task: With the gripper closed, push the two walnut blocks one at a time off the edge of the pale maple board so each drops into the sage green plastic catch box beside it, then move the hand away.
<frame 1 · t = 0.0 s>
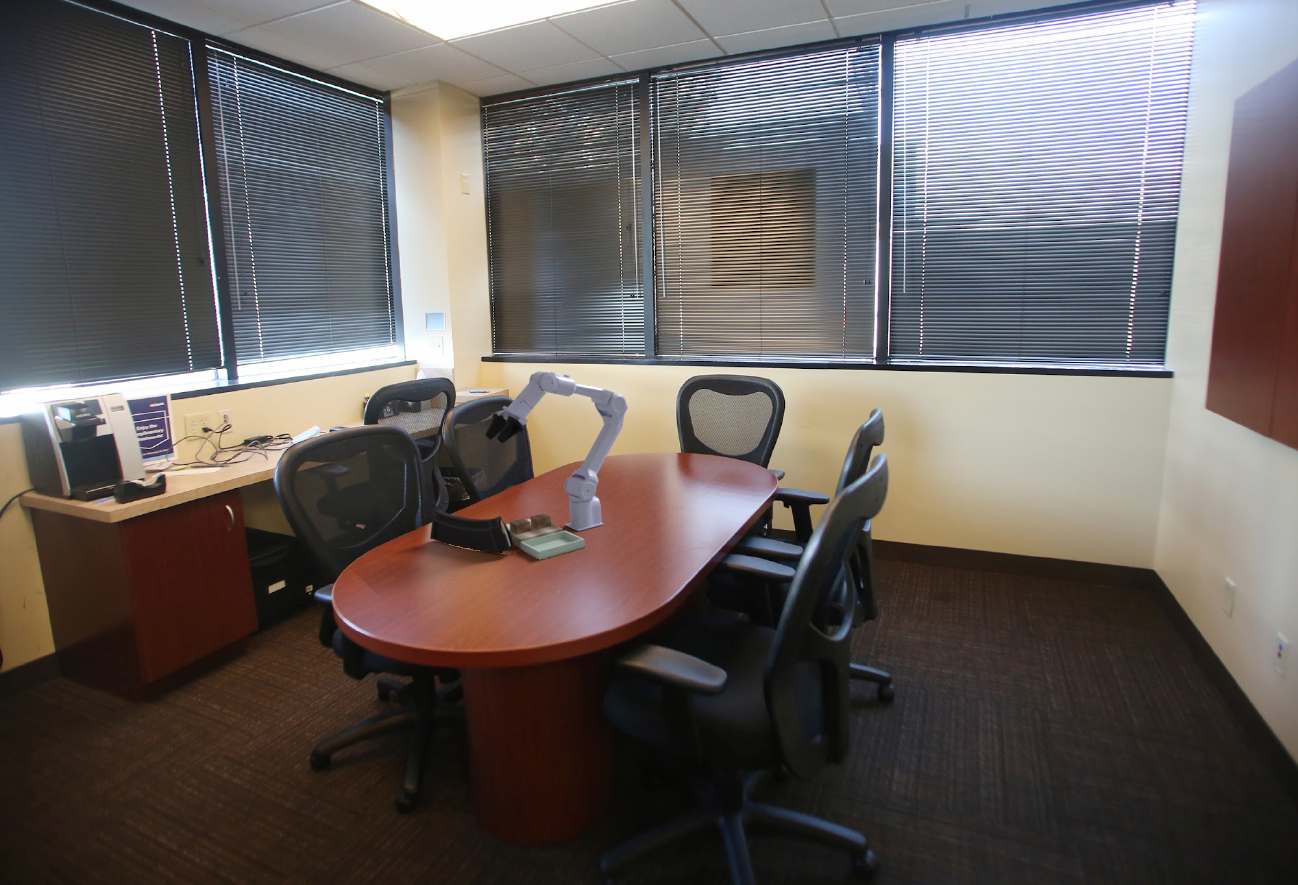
hand: (493, 439, 203), 32 cm above the table, tool tilted 50°, fingers open, 7 cm apart
catch box: (552, 548, 206), on the table
maple board: (530, 537, 217), on the table
magazine: (472, 549, 209), on the table
walnut block b: (520, 531, 213), point 3 cm above the table, touching maple board
walnut block a: (541, 525, 217), point 3 cm above the table, touching maple board
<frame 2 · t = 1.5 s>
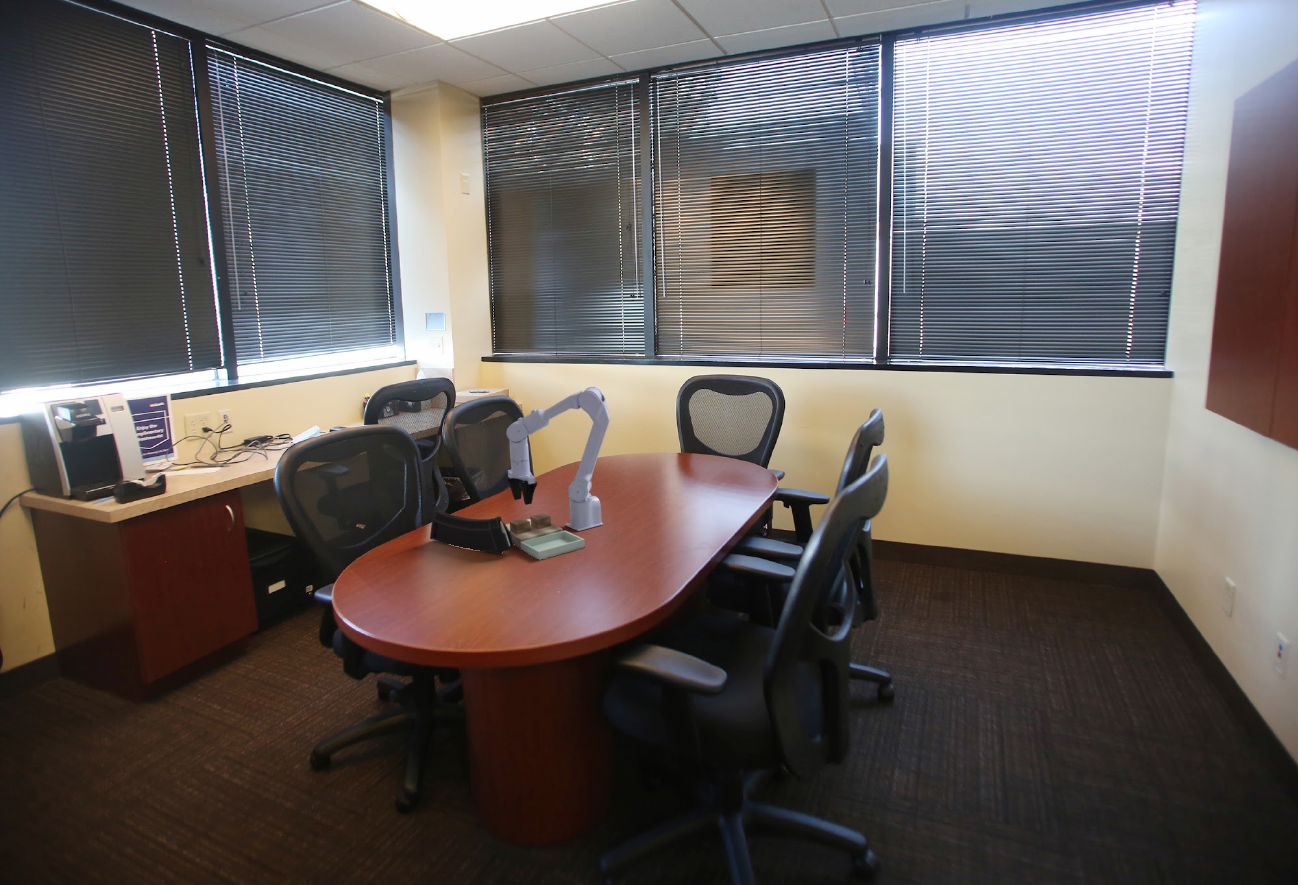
hand: (523, 501, 225), 8 cm above the table, tool pointing down, fingers open, 7 cm apart
nothing on the table moved.
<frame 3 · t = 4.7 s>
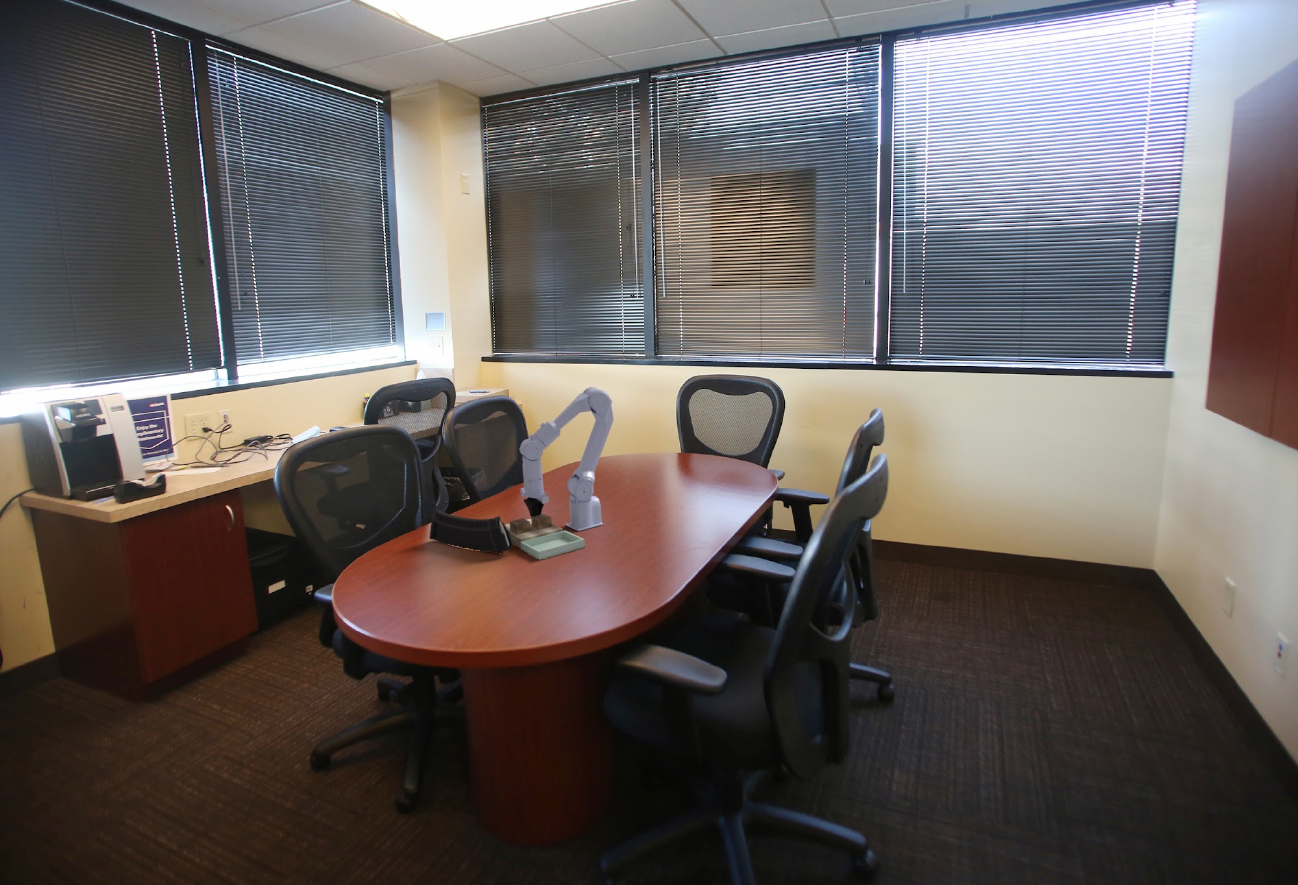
hand: (536, 520, 219), 4 cm above the table, tool pointing down, fingers closed
walnut block a: (541, 526, 217), point 3 cm above the table, touching gripper, maple board
everything else where it was.
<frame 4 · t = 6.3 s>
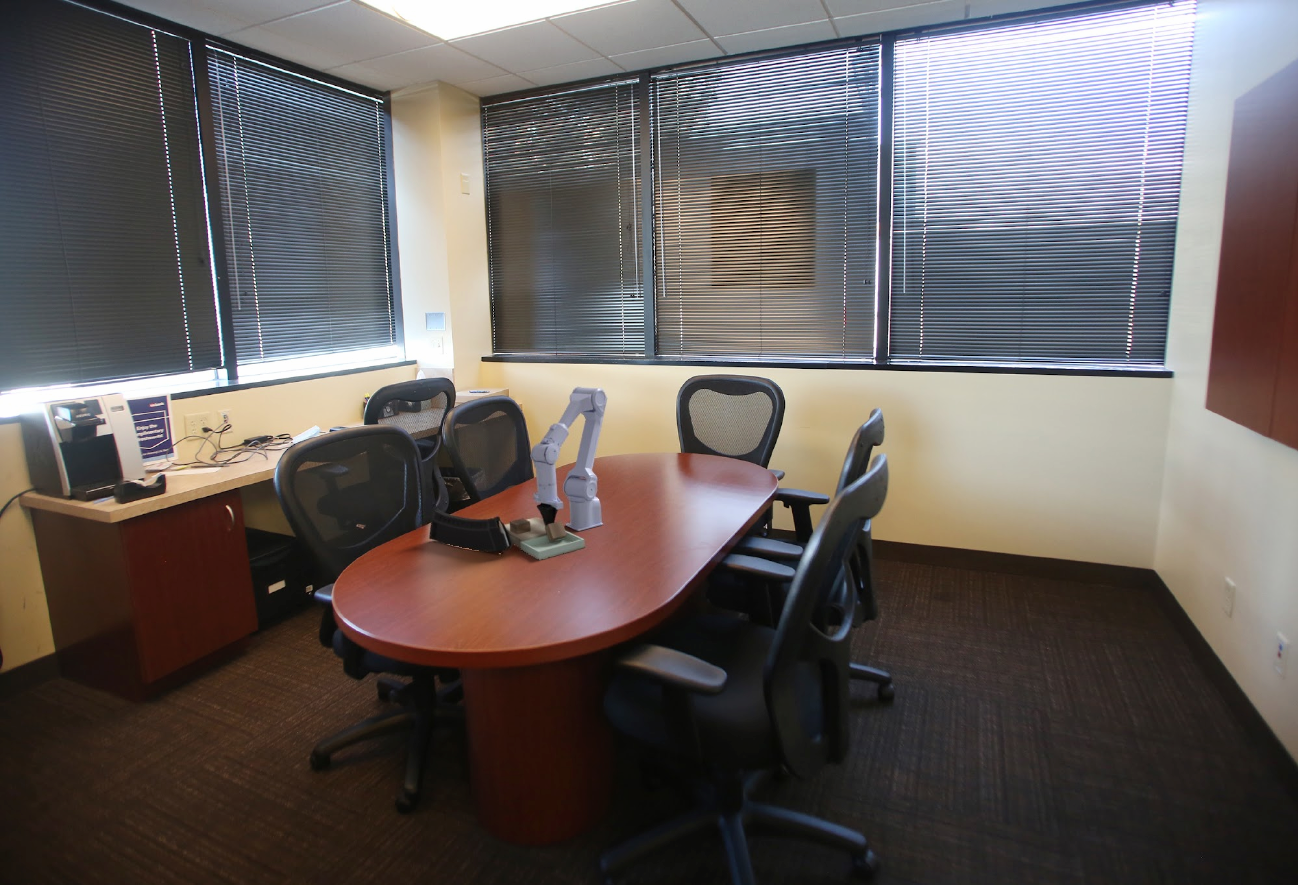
hand: (549, 527, 213), 4 cm above the table, tool pointing down, fingers closed
walnut block a: (553, 532, 211), point 3 cm above the table, tilted 56°
everything else where it was.
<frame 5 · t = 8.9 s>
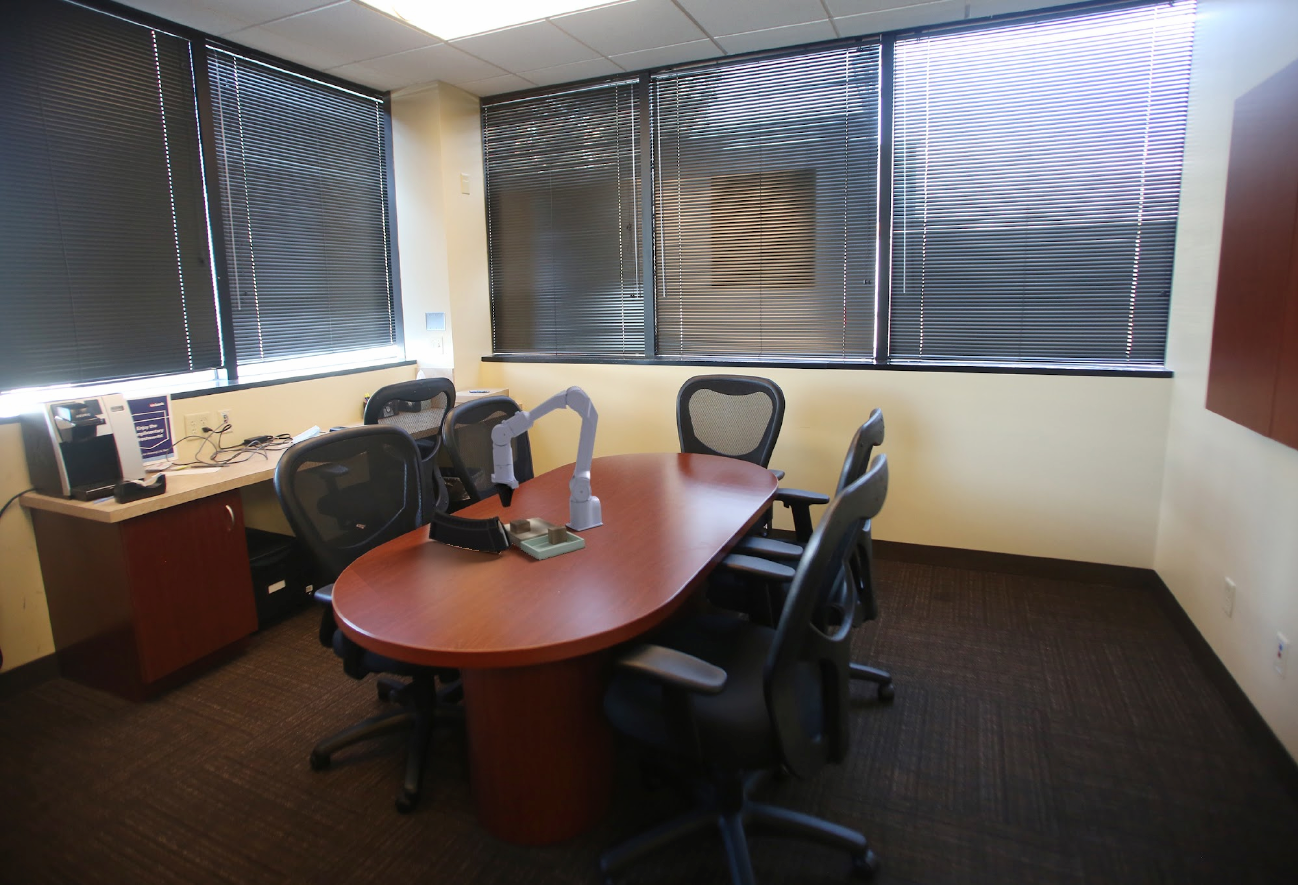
hand: (506, 506, 220), 9 cm above the table, tool pointing down, fingers closed
walnut block a: (554, 533, 210), point 3 cm above the table, tilted 90°, touching catch box
everything else where it was.
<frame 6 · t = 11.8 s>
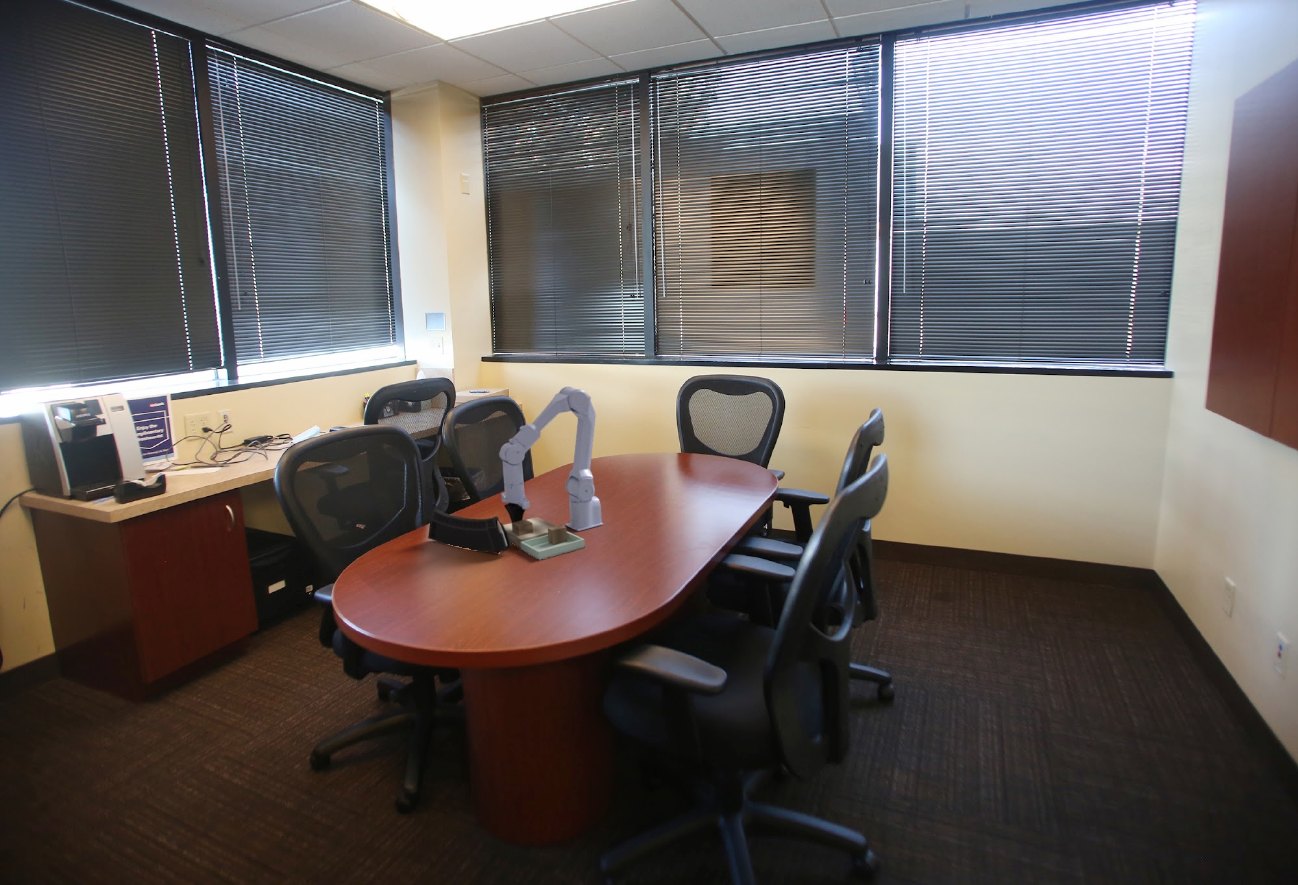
hand: (517, 526, 215), 4 cm above the table, tool pointing down, fingers closed
walnut block b: (522, 532, 212), point 3 cm above the table, touching gripper, maple board
everything else where it was.
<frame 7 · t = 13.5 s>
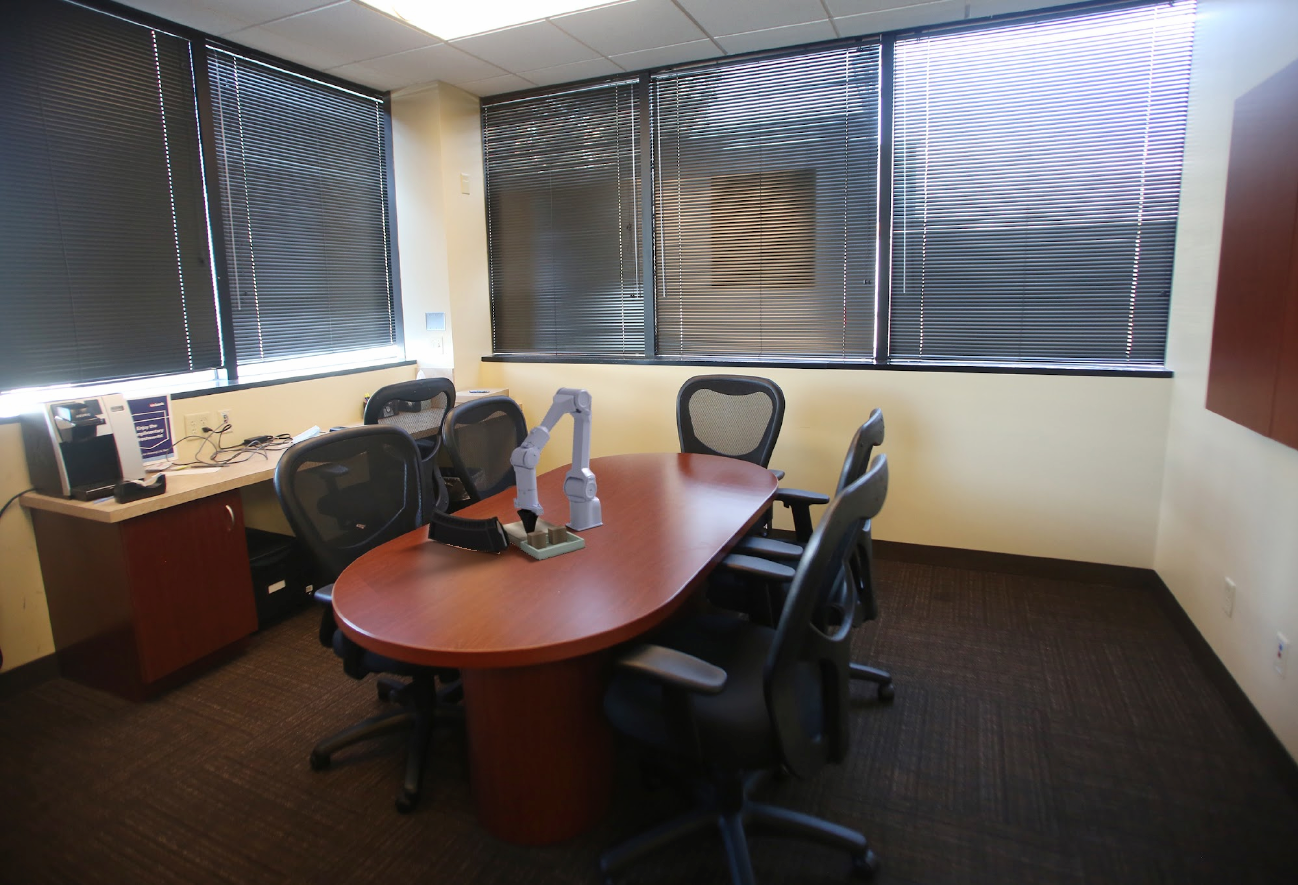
hand: (530, 533, 208), 4 cm above the table, tool pointing down, fingers closed
walnut block b: (534, 539, 206), point 3 cm above the table, tilted 90°, touching catch box
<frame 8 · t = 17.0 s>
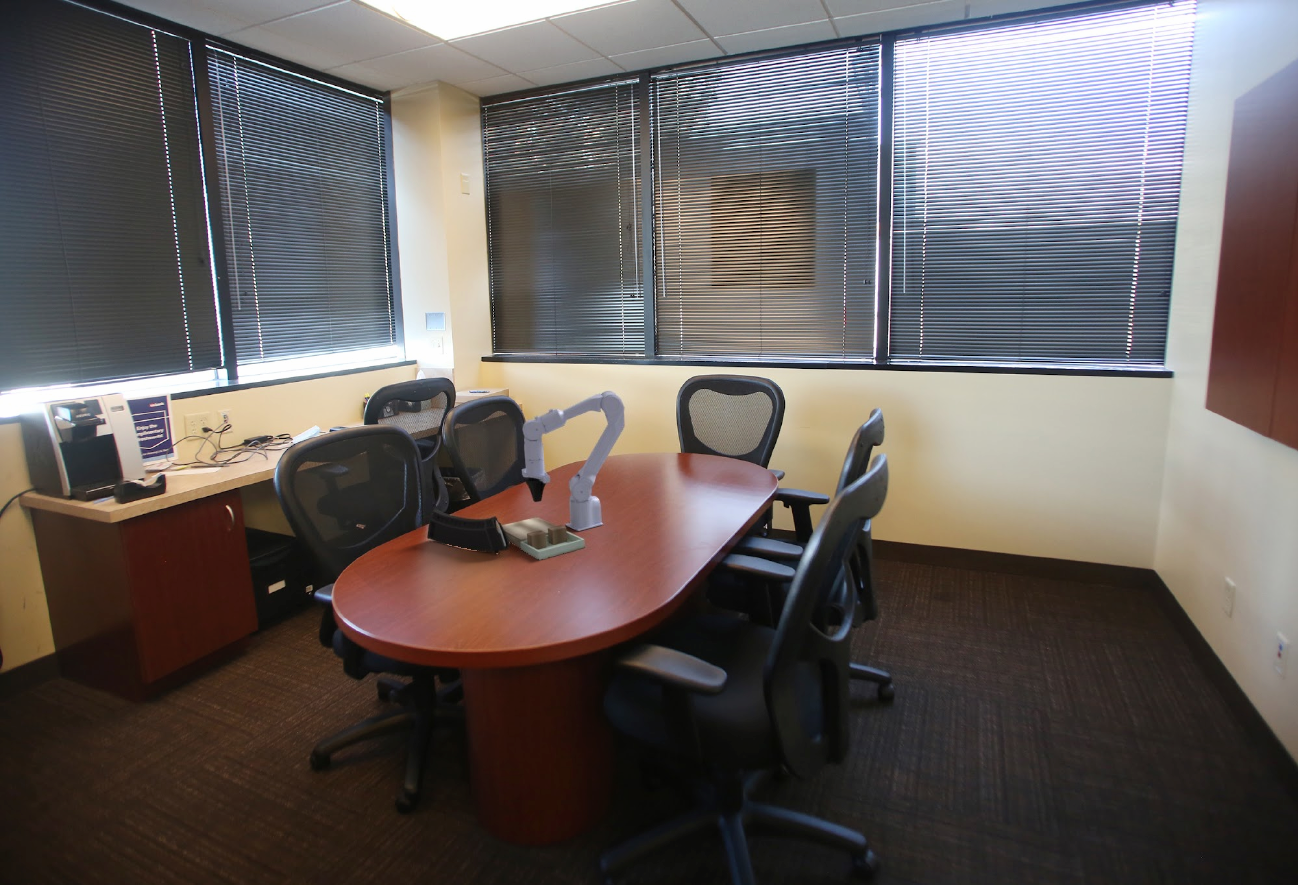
hand: (537, 501, 221), 9 cm above the table, tool pointing down, fingers closed
at the end: walnut block a inside the target area on the catch box (5.4 cm from its centre), point 2.7 cm above the catch box's base; walnut block b inside the target area on the catch box (5.5 cm from its centre), point 2.7 cm above the catch box's base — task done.
